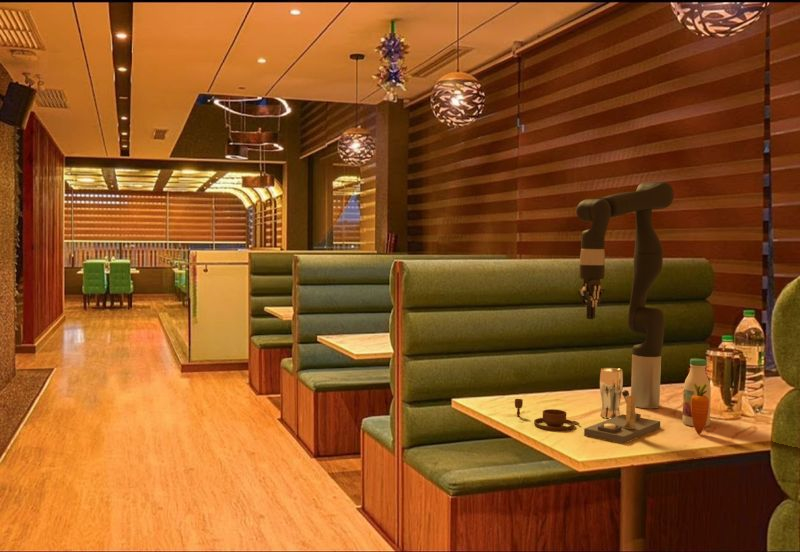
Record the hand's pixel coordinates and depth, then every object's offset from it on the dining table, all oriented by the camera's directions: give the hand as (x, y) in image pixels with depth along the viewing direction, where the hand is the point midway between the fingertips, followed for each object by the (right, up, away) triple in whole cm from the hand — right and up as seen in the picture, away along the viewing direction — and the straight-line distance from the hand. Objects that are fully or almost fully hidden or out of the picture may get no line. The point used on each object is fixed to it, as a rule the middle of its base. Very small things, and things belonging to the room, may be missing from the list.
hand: (590, 318), depth 231 cm
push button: (0, -30, -22) cm, 37 cm away
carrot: (+27, -33, -18) cm, 46 cm away
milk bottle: (+30, -32, -6) cm, 45 cm away
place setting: (-14, -32, -6) cm, 36 cm away
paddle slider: (+6, -30, -21) cm, 37 cm away
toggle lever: (+11, -30, -10) cm, 33 cm away
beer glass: (+7, -31, +2) cm, 32 cm away
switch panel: (+5, -32, -16) cm, 36 cm away
